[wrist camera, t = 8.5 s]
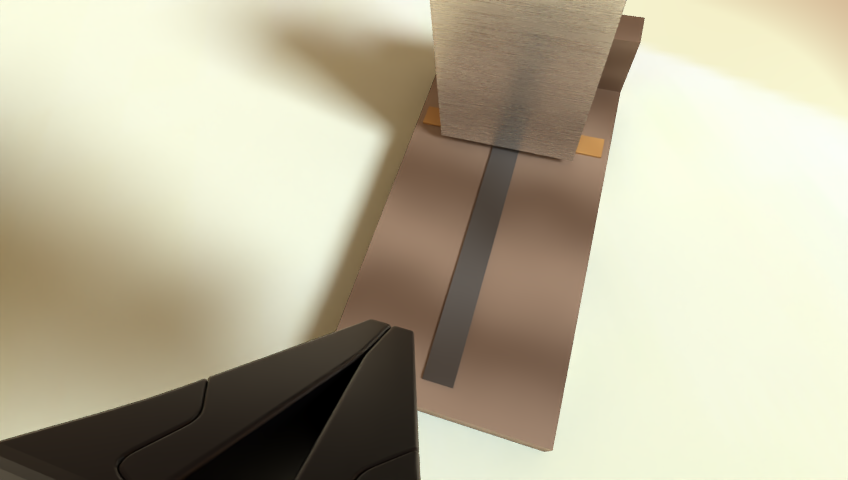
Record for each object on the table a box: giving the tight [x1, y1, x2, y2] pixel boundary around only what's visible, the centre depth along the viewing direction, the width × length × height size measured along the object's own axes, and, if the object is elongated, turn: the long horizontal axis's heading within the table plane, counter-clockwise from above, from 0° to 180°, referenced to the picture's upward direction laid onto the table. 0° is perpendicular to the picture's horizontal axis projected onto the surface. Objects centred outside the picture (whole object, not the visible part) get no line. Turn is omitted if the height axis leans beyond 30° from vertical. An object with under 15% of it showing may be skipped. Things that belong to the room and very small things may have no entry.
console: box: [336, 15, 645, 452], centre depth 21 cm, size 18×9×5 cm, turn 163°
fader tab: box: [430, 0, 627, 161], centre depth 17 cm, size 3×7×12 cm, turn 73°
